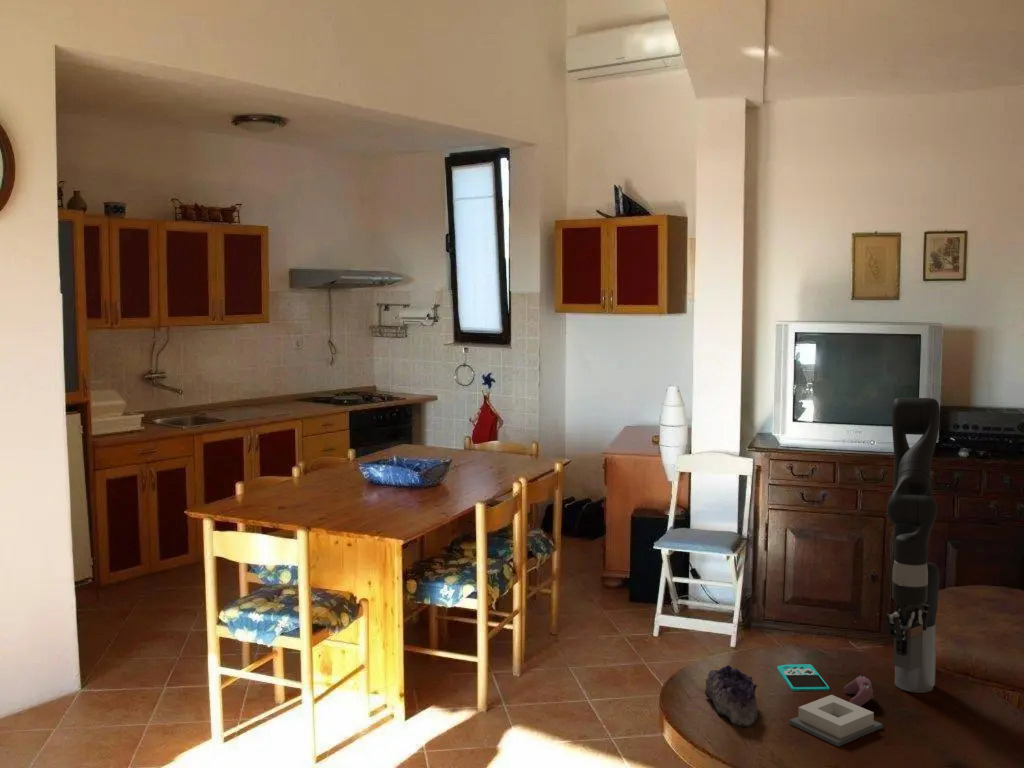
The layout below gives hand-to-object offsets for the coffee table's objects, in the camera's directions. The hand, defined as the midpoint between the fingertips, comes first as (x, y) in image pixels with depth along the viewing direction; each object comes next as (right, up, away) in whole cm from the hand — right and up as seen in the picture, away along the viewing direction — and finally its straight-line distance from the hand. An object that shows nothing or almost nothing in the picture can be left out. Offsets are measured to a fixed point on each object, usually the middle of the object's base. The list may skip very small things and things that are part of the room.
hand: (907, 651), depth 226 cm
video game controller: (-5, -18, +19) cm, 26 cm away
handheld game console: (-15, -17, +33) cm, 40 cm away
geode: (-36, -19, +15) cm, 43 cm away
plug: (0, -3, 0) cm, 3 cm away
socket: (-15, -19, +5) cm, 25 cm away
